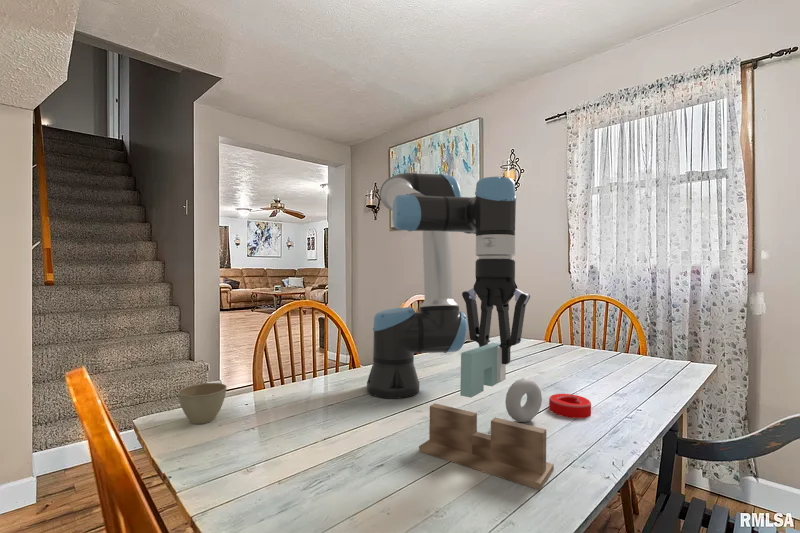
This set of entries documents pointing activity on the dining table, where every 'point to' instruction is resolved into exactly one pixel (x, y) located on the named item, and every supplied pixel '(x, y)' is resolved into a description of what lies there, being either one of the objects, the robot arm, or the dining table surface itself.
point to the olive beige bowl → (202, 401)
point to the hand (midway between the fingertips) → (494, 379)
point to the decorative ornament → (570, 405)
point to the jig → (489, 446)
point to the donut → (516, 395)
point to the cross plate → (478, 369)
